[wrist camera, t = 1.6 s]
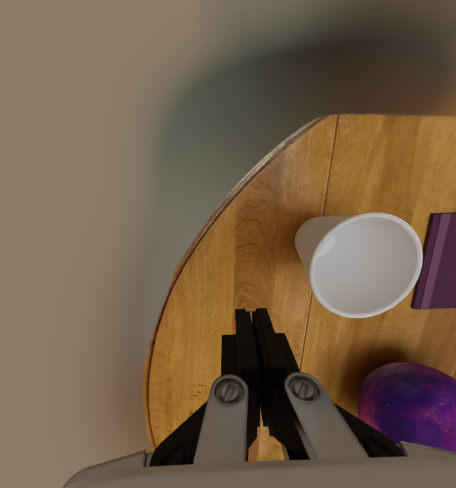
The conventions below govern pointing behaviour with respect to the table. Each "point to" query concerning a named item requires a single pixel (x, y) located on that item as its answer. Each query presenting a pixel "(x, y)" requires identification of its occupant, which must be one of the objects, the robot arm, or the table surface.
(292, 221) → the table surface
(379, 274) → the cup
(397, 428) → the decorative orb
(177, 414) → the table surface
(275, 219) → the table surface
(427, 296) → the book
